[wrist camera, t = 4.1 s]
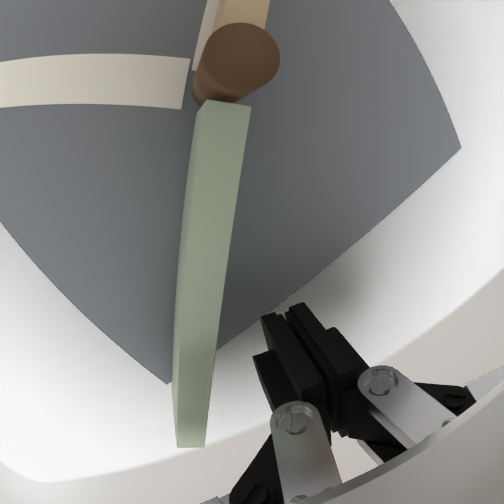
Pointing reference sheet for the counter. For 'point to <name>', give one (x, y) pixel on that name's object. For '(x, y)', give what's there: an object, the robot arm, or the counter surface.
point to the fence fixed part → (236, 53)
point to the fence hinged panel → (204, 260)
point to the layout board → (179, 148)
